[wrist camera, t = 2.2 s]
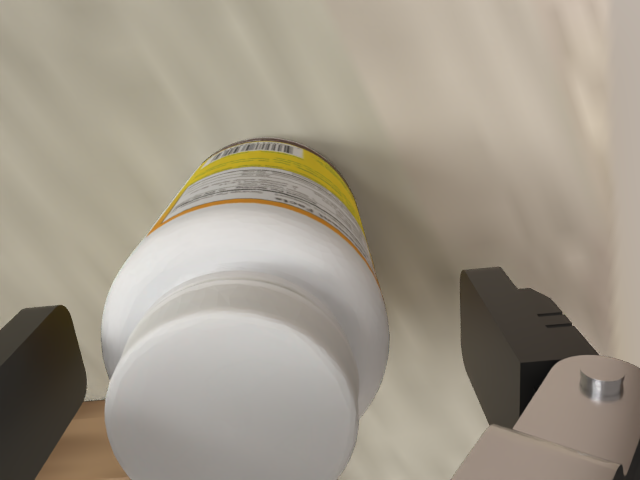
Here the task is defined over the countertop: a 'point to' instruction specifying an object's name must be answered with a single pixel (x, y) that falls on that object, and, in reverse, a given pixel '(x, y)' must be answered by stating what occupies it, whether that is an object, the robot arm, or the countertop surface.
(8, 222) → the countertop surface
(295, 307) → the supplement bottle
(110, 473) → the walnut crate
